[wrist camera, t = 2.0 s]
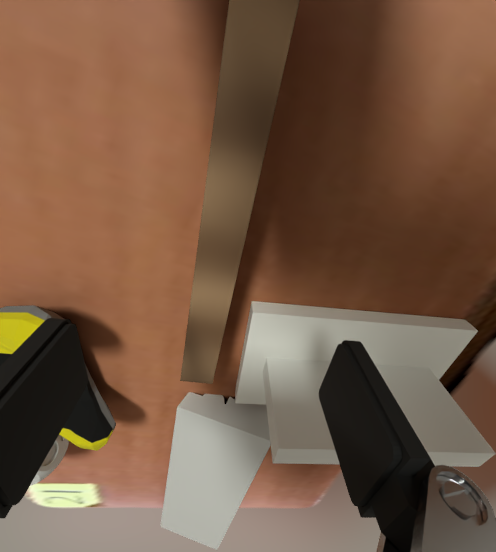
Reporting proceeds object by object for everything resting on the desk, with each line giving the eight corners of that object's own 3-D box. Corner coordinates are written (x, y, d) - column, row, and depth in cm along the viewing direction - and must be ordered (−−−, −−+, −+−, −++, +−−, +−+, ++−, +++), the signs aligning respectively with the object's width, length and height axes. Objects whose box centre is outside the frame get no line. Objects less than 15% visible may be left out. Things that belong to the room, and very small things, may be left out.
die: (9, 417, 29) (-30, 469, 24) (49, 407, 28) (15, 459, 24) (40, 439, 31) (10, 490, 27) (77, 431, 31) (52, 481, 26)
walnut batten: (236, -10, 12) (236, -59, 9) (288, 6, 13) (307, -33, 9) (187, 343, 24) (180, 380, 21) (215, 347, 25) (212, 383, 21)
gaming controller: (91, 285, 21) (-42, 287, 20) (49, 335, 16) (-125, 339, 15) (133, 400, 28) (38, 403, 28) (113, 456, 24) (-2, 461, 23)
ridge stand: (251, 301, 22) (261, 400, 14) (465, 319, 24) (573, 414, 16) (235, 390, 28) (235, 493, 20) (406, 398, 30) (465, 494, 22)
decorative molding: (173, 492, 47) (225, 513, 47) (160, 526, 43) (216, 550, 42) (196, 370, 30) (278, 399, 30) (177, 406, 26) (272, 441, 25)
